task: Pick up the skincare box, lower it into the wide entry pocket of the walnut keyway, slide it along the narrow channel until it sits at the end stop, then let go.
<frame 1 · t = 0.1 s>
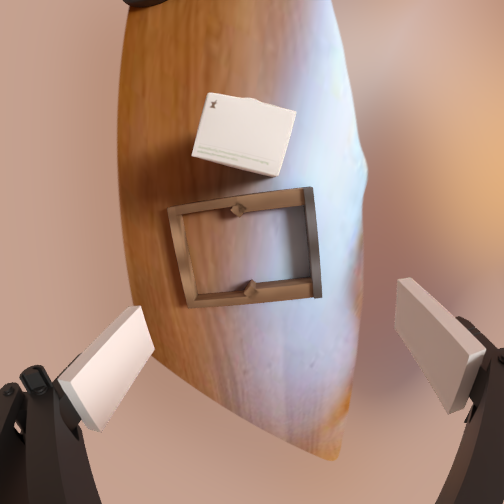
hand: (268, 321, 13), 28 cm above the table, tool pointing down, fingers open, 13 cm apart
keyway: (246, 248, 41), on the table
skincare box: (254, 148, 38), on the table
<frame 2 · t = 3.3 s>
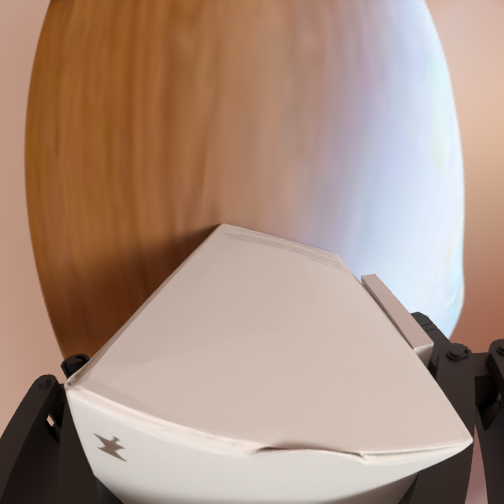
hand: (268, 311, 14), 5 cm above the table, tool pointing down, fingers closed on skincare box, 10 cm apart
skincare box: (271, 277, 19), on the table, touching gripper
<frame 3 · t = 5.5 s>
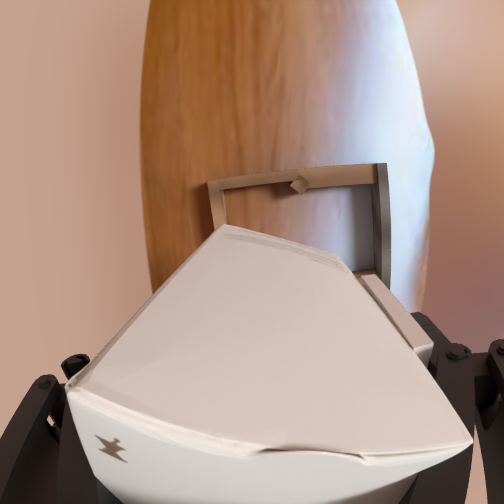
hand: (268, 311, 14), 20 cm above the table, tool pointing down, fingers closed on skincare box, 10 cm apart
keyway: (303, 233, 34), on the table
skincare box: (271, 278, 19), point 15 cm above the table, touching gripper
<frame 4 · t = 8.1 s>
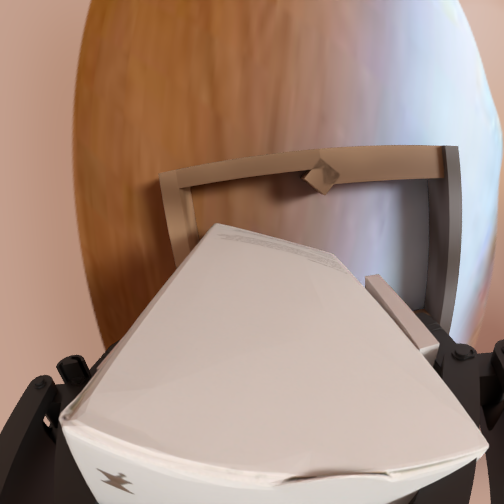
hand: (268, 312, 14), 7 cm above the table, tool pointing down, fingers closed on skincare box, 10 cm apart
keyway: (324, 260, 20), on the table
skincare box: (266, 278, 19), point 2 cm above the table, touching gripper, keyway
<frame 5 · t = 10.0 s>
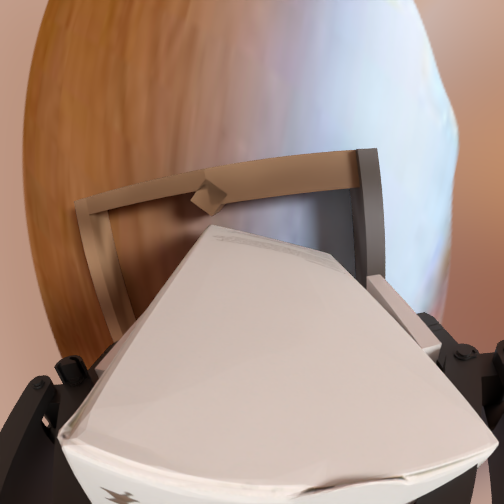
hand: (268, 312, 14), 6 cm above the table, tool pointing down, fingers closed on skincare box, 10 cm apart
keyway: (231, 279, 20), on the table
skincare box: (262, 280, 18), point 2 cm above the table, touching gripper
when the fingers open (6 cm above the table, at t = 11.6 s): skincare box drops 2 cm, resting in keyway.
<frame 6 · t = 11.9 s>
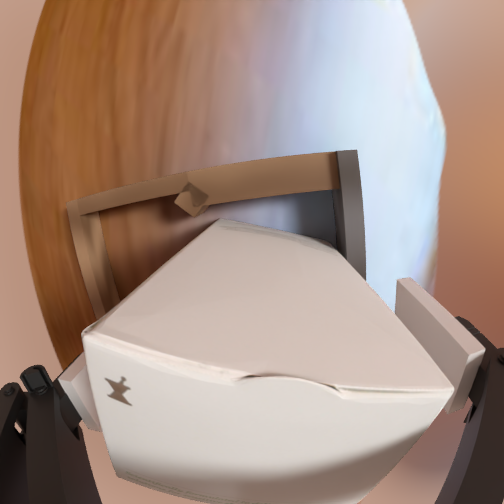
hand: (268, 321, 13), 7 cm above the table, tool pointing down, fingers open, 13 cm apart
keyway: (216, 278, 21), on the table
skincare box: (268, 267, 20), resting in keyway
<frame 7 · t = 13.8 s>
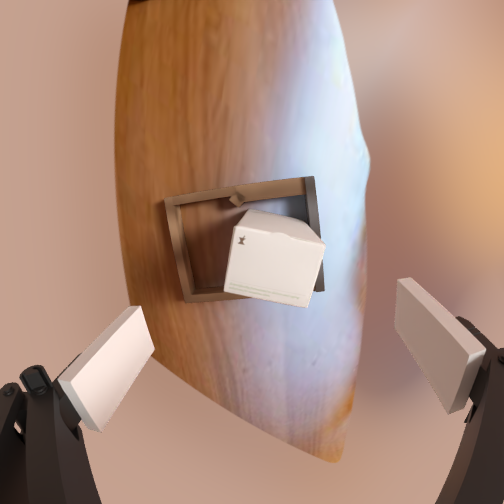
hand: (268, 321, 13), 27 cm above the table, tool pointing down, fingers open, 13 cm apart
keyway: (246, 240, 40), on the table
skincare box: (273, 234, 40), resting in keyway
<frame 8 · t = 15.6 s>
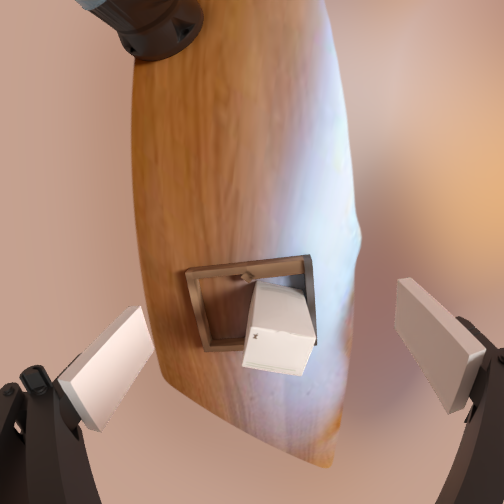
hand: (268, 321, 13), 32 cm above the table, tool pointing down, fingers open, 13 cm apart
keyway: (254, 304, 48), on the table
skincare box: (276, 299, 48), resting in keyway
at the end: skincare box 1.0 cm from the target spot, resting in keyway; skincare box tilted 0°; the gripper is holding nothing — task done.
